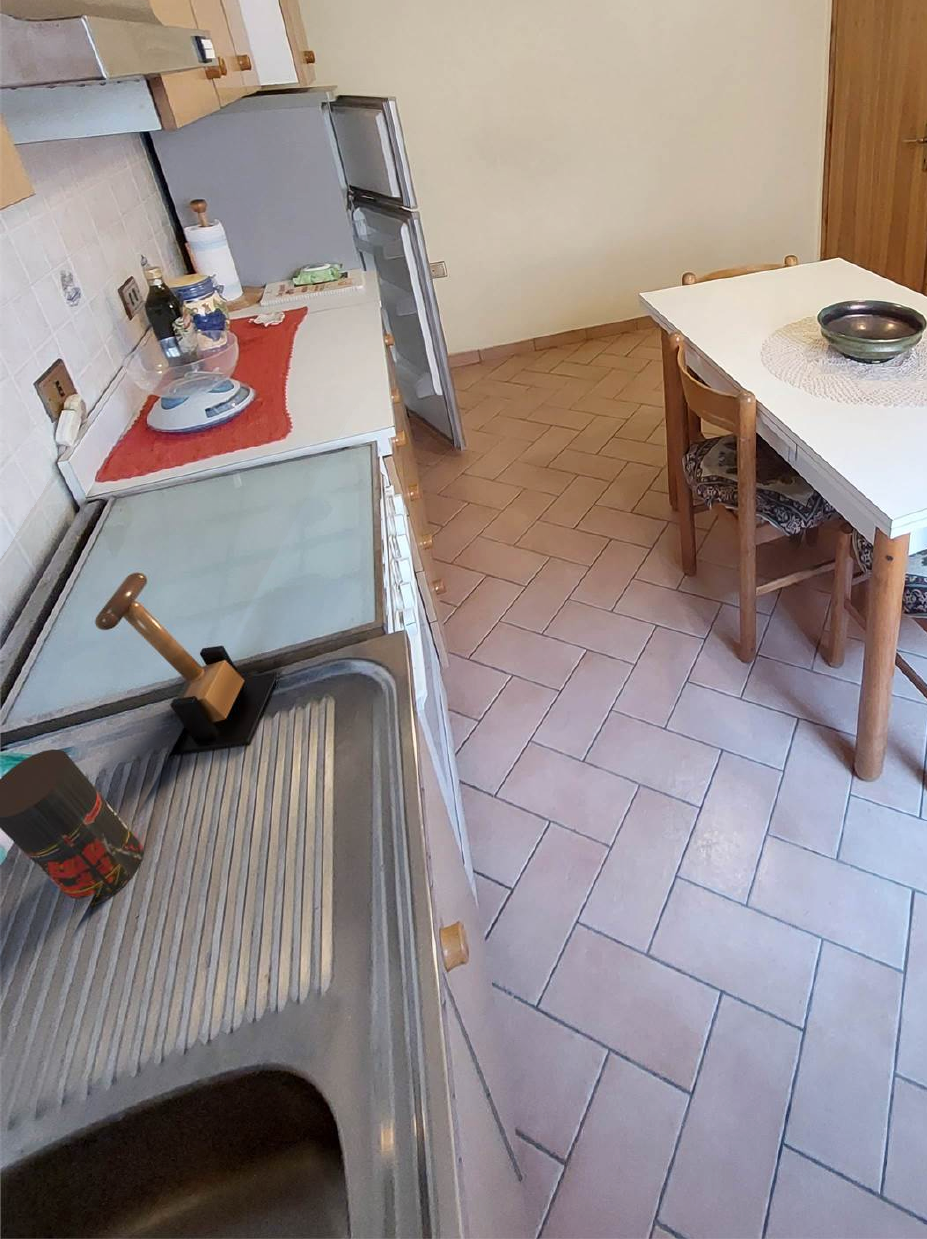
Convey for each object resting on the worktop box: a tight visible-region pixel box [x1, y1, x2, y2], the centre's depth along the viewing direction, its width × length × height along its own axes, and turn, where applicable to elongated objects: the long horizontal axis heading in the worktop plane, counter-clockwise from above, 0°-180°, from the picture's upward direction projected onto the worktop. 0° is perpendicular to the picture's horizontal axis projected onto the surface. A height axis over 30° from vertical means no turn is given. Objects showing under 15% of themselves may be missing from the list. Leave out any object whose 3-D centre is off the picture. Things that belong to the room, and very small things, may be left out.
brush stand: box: [168, 645, 280, 758], centre depth 81 cm, size 10×9×7 cm
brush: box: [94, 572, 244, 722], centre depth 77 cm, size 19×7×4 cm
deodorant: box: [0, 748, 144, 908], centre depth 65 cm, size 6×6×15 cm
